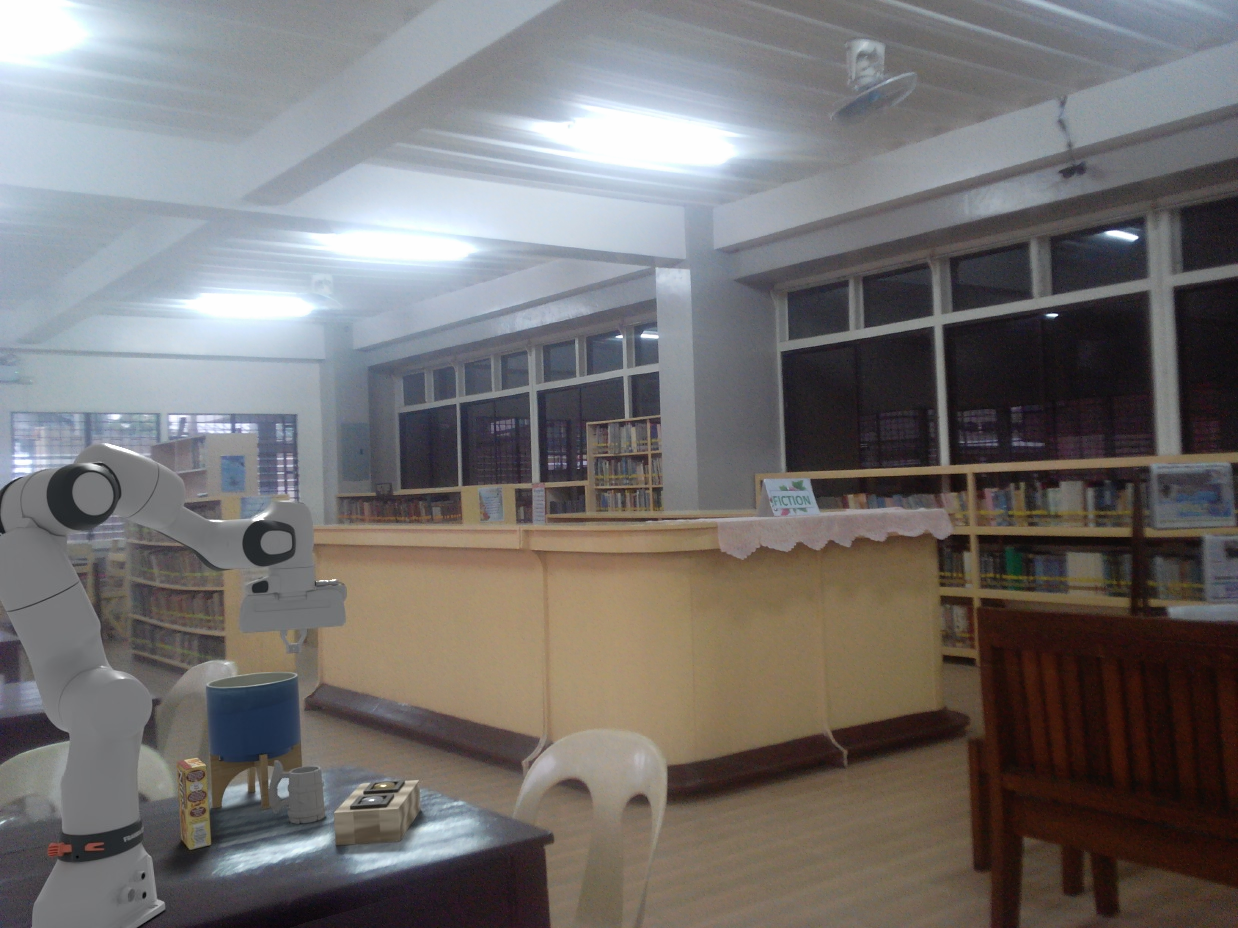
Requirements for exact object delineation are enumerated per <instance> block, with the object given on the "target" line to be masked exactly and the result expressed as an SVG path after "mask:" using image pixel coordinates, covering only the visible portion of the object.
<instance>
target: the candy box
mask: <svg viewBox="0 0 1238 928" xmlns="http://www.w3.org/2000/svg"><path fill="white" fill-rule="evenodd" d="M176 777H177V790H178V791H177V792H178V807H179V808H178V810H179V819H180V822H179V823H180V838H181V840H182V842H183V843H184V845H186V847H187V848H188V850H190V851H191V850H195V849H201V848H204V847H208V846H209V847H210V846H211V845H212V833H211V819H210V804H209V802H210V801H209V785H208V770H207V765H206V763H205V762H203V761H201V759H200V758H198V757H195V758H189V759H183V760H177V761H176Z"/></svg>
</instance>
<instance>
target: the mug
mask: <svg viewBox="0 0 1238 928" xmlns="http://www.w3.org/2000/svg"><path fill="white" fill-rule="evenodd" d="M322 773H323V772H322V767H321V766H318V765H308V766H307V765H306V766H302V767H298V768H295V769H292V770H290V771H289V772H284V771H283V766H282V764H281V763H280V761H278V760H275V761H274V767H273V771H272V775H271V778H270V782H269V790H268V795H269V804H270V809H272V810H273V813H274V814H275V815H278V814H280V812H281V811H282V810H283V809H284V808H285V807H288V808H287V816H288V819H289V822H290V824H295V825H296V824H297V825H298V824H308V823H313V822H316V821H321V820H322V819H324V818H325V817H326V811H327V804H326V803H325V796H324V786H325V784H324V780H323V776H322ZM282 779H288V785H287V792H288V797H287V798H284V799H282V798H281V797H280V795H278V786H279V783H281V781H282Z"/></svg>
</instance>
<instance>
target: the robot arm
mask: <svg viewBox="0 0 1238 928" xmlns="http://www.w3.org/2000/svg"><path fill="white" fill-rule="evenodd" d="M186 498H187V490H186V484H185V482H184V480H183V478H181V476H179V475H178V474H177V473H176V472H174V471H173V470H172V469H170V468H169V467H167V466H165V465H163V464H162V463H159V462H157V461H156V460H154V459H151V458H150V457H148V456H145V455H143V454H141V453H139V452H136V451H133V450H130V449H127V448H125V447H121V446H118V445H114V444H110V443H106V442H104V443H103V442H97V443H93V444H90V445H88V446H87V447H85V448H84V449H83V450H82V451H81V452H80V453H79V454H78V455H77V456H76V457H75V459H74V461H73V463H70V464H68V465H64V466H60V467H59V466H58V467H54V468H44V469H40V470H36V471H34V472H32V473H28V474H27V475H25V476H20V477H16V478H14V479H13V480H11V481H9V482H8V483H7V484H5V485H4V486H3V487H1V489H0V602H1V604H2V606H3V608H4V610H5V613H6V614H7V616H8V619H9V620H10V623H11V624H12V626H13V628H14V631H15V632H16V635H17V636H18V639H19V641H20V642H21V645H22V646H23V649H24V651H25V654H26V656H27V658H28V661H29V665H30V667H31V669H32V674H33V677H34V680H35V684H36V686H37V690H38V693H39V695H40V699H41V701H42V702H41V703H42V709H43V711H44V713H45V715H46V717H47V718H48V720H49V721H50V722H51V723H52V724H53V725H54V726H55V727H56V728H57V729H59V730H61V731H63V732H66V733H68V735H69V746H68V753H67V754H68V755H67V761H66V765H65V770H64V773H63V775H62V777H61V779H60V783H59V784H60V803H61V804H60V805H61V828H62V829H61V830H60V832H59V836H58V840H57V843H56V842H50V844H49V845H48V847H47V852H46V853H47V856H48V857H50V858H52V857H55V858H56V862H55V864H54V866H53V868H52V870H51V872H50V874H49V875H48V877H47V880H46V881H45V883H44V885H43V887H42V888H41V891H40V893H39V894H38V895H37V897H36V900H35V902H34V904H33V907H32V913H31V914H32V916H31V918H32V919H31V925H32V926H31V927H30V928H138V927H140V926H141V925H143V924H144V923H146V922H147V921H149V920H151V919H152V918H154V917H155V916H157V915H159V914H160V913H162V912H163V911H165V910H166V903H165V901H164V900H160V899H158V895H157V893H158V892H157V887H156V879H155V873H154V864H153V858H152V856H151V855H150V854H149V853H148V852H147V851H146V849H145V848H144V845H143V844H142V842H143V840H144V831H145V830H144V829H145V828H144V824H143V818H142V816H140V810H139V809H140V806H139V805H140V802H139V785H138V784H139V782H138V781H139V778H138V777H139V774H138V772H139V771H138V770H139V761H140V754H141V746H142V742H143V736H144V730H145V726H146V725H147V724H148V722H149V720H150V718H151V716H152V712H153V711H152V710H153V700H152V695H151V693H150V691H149V690H148V688H147V686H145V685H144V683H142V682H141V681H140V680H139V679H138V678H136V677H135V676H134V675H132V674H130V673H128V672H125V671H121V670H115V669H113V668H112V666H111V665H110V663H109V661H108V659H107V656H106V652H105V649H104V644H103V641H102V636H101V628H102V625H101V622H100V619H99V617H98V615H97V613H96V611H95V609H94V607H93V604H92V602H91V600H90V598H89V596H88V594H87V592H86V589H85V588H84V586H83V583H82V581H81V579H80V577H79V576H78V573H77V571H76V569H75V567H74V566H73V564H72V562H71V561H70V558H69V553H68V539H69V537H68V536H71V535H75V534H77V533H81V532H83V531H89V530H92V529H95V528H97V527H99V526H100V525H102V524H103V523H104V522H106V521H107V520H108V519H109V518H110V517H111V516H112V515H115V516H118V517H120V518H122V519H124V520H126V521H129V522H132V523H134V524H137V525H140V526H142V527H144V528H145V527H146V528H148V529H151V530H153V531H155V532H156V533H158V534H160V535H162V536H164V537H166V538H169V539H170V540H172V541H174V542H176V543H177V544H178V543H179V544H180V545H181V546H183V547H185V548H187V549H188V550H190V551H191V552H192V553H193V554H194V555H195V556H196V557H197V558H198V559H199V561H200V562H201V563H202V564H204V566H206V567H207V568H208V569H210V570H212V571H216V572H224V571H230V570H231V571H232V570H249V569H250V570H251V569H264V568H268V569H267V572H268V573H267V575H266V576H264V577H263V576H262V577H259V578H258V579H255V580H252V581H250V582H247V583H246V584H245V585H244V592H245V594H247V595H246V596H245V597H243V600H241V604H240V608H239V609H240V610H239V616H238V629H239V631H240V632H241V633H242V634H253V633H264V632H279V637H280V639H281V640H282V642H283V643H284V644H285V647H286V648H285V649H286V651H285V652H286V655H287V654H297V653H299V654H301V653H303V650H302V648H303V647H302V646H303V645H302V644H303V643H304V641H305V639H306V637H307V636H308V630H309V629H319V628H321V629H322V628H334V627H335V628H336V627H337V628H338V627H343V626H344V625H345V623H346V622H347V615H346V607H345V603H344V602H345V600H346V599H347V596H348V594H347V593H348V592H347V591H348V590H347V586H346V584H345V583H343V582H342V581H339V579H332V580H316V570H315V568H316V567H315V561H314V557H313V550H314V545H315V538H314V537H315V536H314V523H313V518H312V517H313V516H312V513H311V510H310V508H309V506H308V505H306V503H304V502H300V501H297V500H287V499H278V500H274V501H271V502H270V504H269V505H268V506H267V507H266V508H265V509H264V510H262V511H261V512H258V513H257V514H256V515H253V516H250V518H243V519H241V518H240V519H209V518H205V517H203V516H202V515H200V514H198V513H197V512H194V511H192V510H191V509H189V508H187V507H186V506H185V502H186ZM293 630H298V631H299V635H301V637H300V638H299V640H298V642H294V643H290V642H289V640H288V639H287V636H288V631H293Z"/></svg>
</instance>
